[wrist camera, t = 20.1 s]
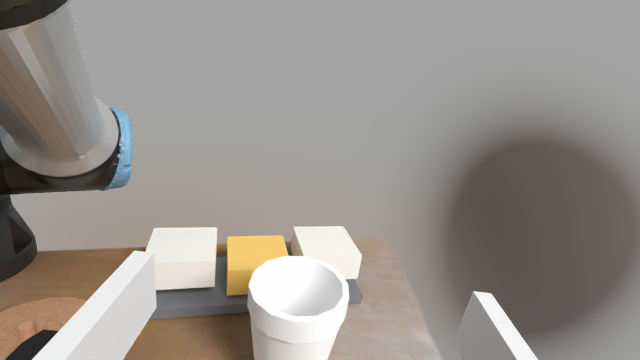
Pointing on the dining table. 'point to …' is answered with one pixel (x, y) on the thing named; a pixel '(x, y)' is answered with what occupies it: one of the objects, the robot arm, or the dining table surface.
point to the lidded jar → (34, 320)
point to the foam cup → (296, 308)
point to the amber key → (249, 258)
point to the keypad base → (214, 298)
